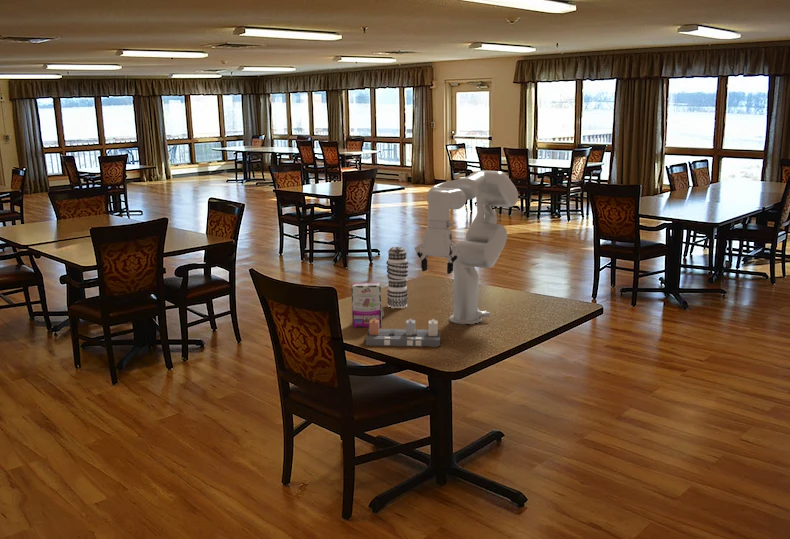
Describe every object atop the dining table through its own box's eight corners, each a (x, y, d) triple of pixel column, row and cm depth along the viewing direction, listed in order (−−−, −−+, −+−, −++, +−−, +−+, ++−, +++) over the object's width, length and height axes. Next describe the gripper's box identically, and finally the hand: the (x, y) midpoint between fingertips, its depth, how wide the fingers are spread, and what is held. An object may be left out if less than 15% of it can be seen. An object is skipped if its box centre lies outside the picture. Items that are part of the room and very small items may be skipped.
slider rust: (379, 331, 263) (379, 317, 261) (378, 334, 259) (378, 321, 258) (370, 331, 263) (370, 317, 262) (369, 334, 259) (369, 320, 258)
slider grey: (415, 332, 262) (415, 318, 261) (414, 335, 258) (414, 321, 257) (406, 332, 262) (406, 318, 261) (405, 335, 258) (405, 321, 257)
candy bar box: (381, 323, 282) (381, 282, 278) (381, 327, 277) (381, 285, 273) (352, 323, 282) (352, 282, 278) (352, 327, 277) (351, 285, 273)
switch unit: (439, 336, 266) (440, 327, 265) (439, 346, 254) (440, 337, 253) (369, 335, 267) (369, 326, 267) (365, 345, 255) (365, 336, 255)
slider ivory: (437, 332, 261) (437, 318, 260) (437, 335, 257) (437, 322, 256) (428, 332, 261) (428, 318, 260) (428, 335, 258) (428, 321, 256)
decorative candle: (395, 310, 300) (395, 250, 295) (382, 305, 308) (381, 247, 302) (412, 306, 306) (413, 248, 301) (398, 302, 313) (398, 245, 308)
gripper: (464, 225, 258) (463, 272, 261) (420, 222, 265) (419, 268, 269) (457, 227, 252) (455, 276, 255) (411, 224, 259) (410, 271, 262)
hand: (436, 272), depth 262 cm, fingers open, 9 cm apart
